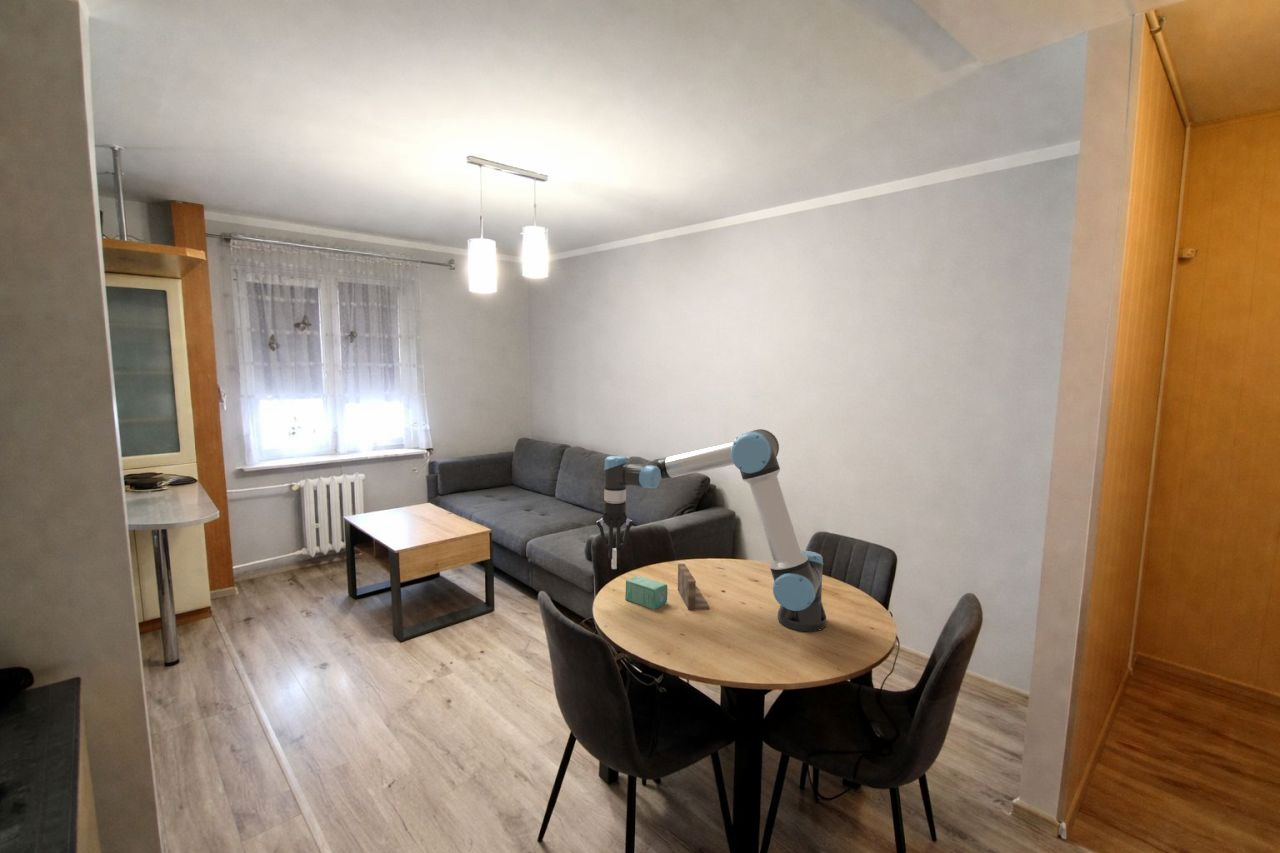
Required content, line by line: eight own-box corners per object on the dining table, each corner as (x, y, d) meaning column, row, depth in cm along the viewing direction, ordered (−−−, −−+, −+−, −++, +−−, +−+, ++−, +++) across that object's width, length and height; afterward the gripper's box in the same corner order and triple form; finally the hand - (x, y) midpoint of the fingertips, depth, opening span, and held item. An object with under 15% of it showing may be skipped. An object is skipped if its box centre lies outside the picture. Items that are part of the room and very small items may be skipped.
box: (655, 610, 187) (655, 589, 186) (624, 600, 196) (624, 580, 195) (667, 604, 193) (668, 583, 192) (638, 594, 201) (638, 574, 201)
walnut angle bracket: (708, 609, 188) (709, 580, 188) (688, 610, 188) (688, 581, 187) (696, 589, 206) (697, 563, 205) (677, 590, 205) (678, 563, 204)
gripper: (632, 498, 195) (631, 563, 197) (595, 498, 193) (594, 564, 195) (635, 503, 187) (633, 570, 189) (596, 503, 186) (595, 572, 188)
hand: (614, 567), depth 192 cm, fingers closed
